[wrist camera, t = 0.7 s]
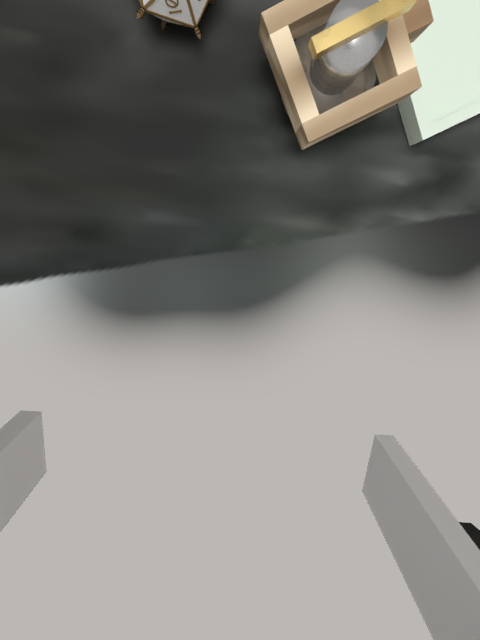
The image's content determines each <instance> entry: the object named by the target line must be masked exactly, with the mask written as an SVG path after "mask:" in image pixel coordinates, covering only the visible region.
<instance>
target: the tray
mask: <svg viewBox="0 0 480 640" xmlns="http://www.w3.org/2000/svg"><path fill="white" fill-rule="evenodd" d="M429 4H430V8H431V12H432V16H433V20H434V21H433V22H432V23H431V24H430V25H429V26H428V27H427V28H426V29H425V31H424V32H423V33H422V34H421V35H420V36H419V37H418V38H417V39H416V40H415V41H414V42H412V43H411V47H412V51H413V54H414V58H415V62H416V66H417V69H418V73H419V77H420V80H421V84H422V87H421V88H419V89H418V90H417V91H415V92H414V93H413V94H411V95H410V96H409V97H407V98H406V99H405V100H403V101H401V102H399V103H397V104H398V107H399V111H400V114H401V118H402V121H403V125H404V128H405V131H406V135H407V138H408V142H409V145H410V146H411V145H414V144H416V143H418V142H420V141H422V140H425V139H427V138H429V137H431V136H433V135H435V134H437V133H439V132H441V131H443V130H446V129H448V128H450V127H452V126H454V125H456V124H458V123H460V122H462V121H464V120H467V119H469V118H471V117H473V116H475V115H477V114H479V113H480V0H429Z"/></svg>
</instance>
